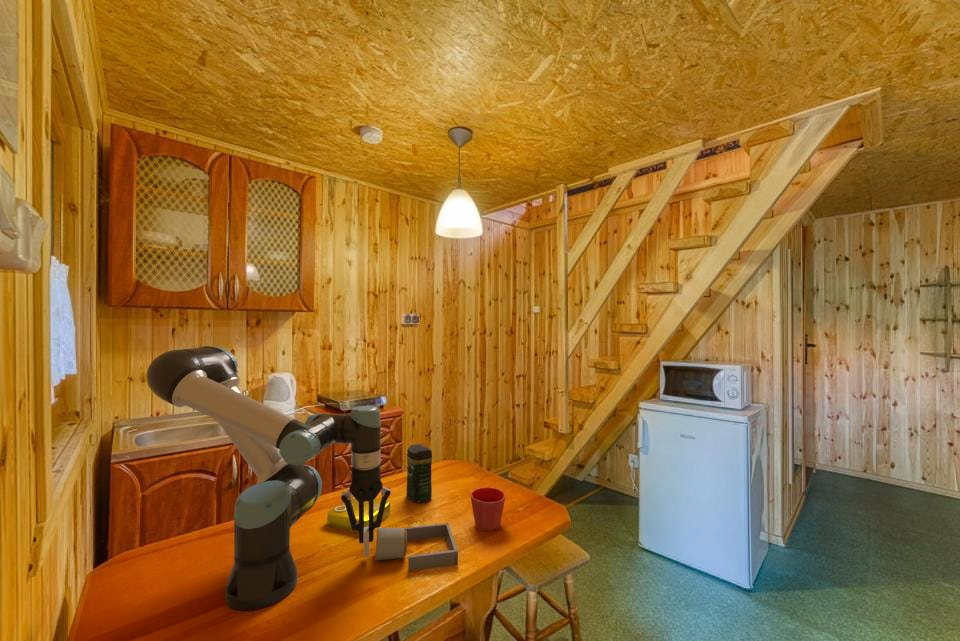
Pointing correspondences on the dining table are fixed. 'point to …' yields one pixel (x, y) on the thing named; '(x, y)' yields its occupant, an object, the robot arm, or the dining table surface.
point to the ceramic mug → (391, 543)
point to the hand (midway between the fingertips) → (366, 553)
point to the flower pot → (487, 507)
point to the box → (438, 557)
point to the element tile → (340, 516)
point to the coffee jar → (419, 473)
